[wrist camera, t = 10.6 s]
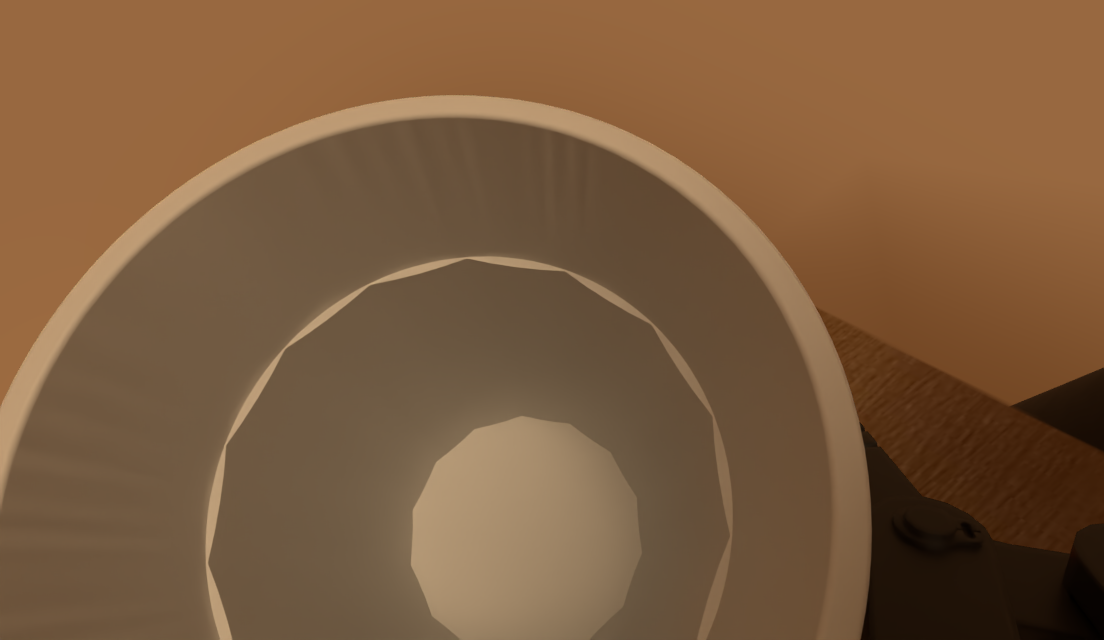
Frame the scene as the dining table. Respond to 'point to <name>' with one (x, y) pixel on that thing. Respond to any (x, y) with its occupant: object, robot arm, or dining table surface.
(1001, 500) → the dining table surface
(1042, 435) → the dining table surface
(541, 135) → the cup
